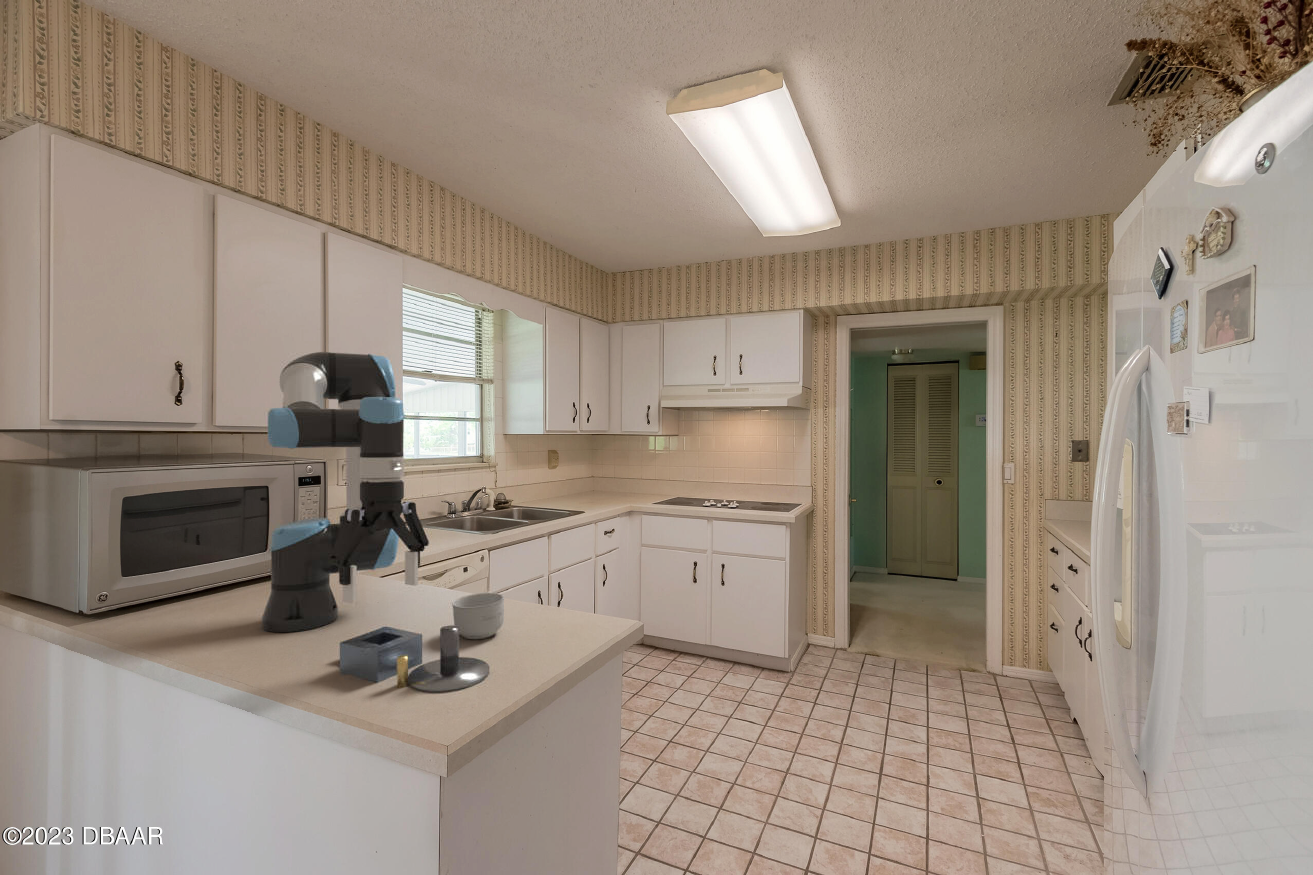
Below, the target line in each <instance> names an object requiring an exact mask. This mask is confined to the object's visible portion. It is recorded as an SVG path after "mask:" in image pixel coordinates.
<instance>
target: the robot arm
mask: <svg viewBox="0 0 1313 875" xmlns="http://www.w3.org/2000/svg"><path fill="white" fill-rule="evenodd" d="M279 387H280V390H281V392H282V394H283V395H282V396H283V398H282V407H274V408H270V410H269V411H268V413H267V440H268V444H269V445H270V446H271V447H272V448H285V449H291V450H292V449H302V448H303V449H304V448H305V449H306V448H308V449H311V448H313V449H314V448H315V449H316V448H345V478H346V479H345V481H346V482H345V483H346V484H345V486H346V488H345V489H346V490H345V492H346V508H345V510H343V512H342V513H340V515H339V523H331V521H330V519H329V518H328V517H317V518H308V519H301V520H298V521H293V522H288V523H286V524H282V525H279V526H277V527H276V528H275V529H273V531H272V533H271V540H270V541H271V542H270V543H271V544H270V547H269V550H270V552H271V555H270V556H271V560H270V561H271V563H270V566H271V567H270V568H271V569H270V571H271V572H270V578H271V579H270V580H271V581H270V583H271V584H270V594H269V597H268V599H267V603H266V605H265V608H264V612H263V614H262V617H261V628H262V630H264V631H267V632H273V633H292V632H300V631H305V630H306V631H307V630H310V629H311V630H312V629H315V628H320V627H322V626H326V625H329V624H331V623H333V622H335V621H336V620H337V619H338V618H339V607H338V604H337V601H336V599H335V596H334V593H333V591H332V588H331V585H330V579H331V578H330V575H331V574H338V582H339V585H342V602H343V603H348V604H356V603H358V601H357V600H358V598H357V597H358V596H357V595H358V592H357V590H358V589H357V588H358V586H357V585H358V584H357V579H358V576H357V575H358V574H357V573H358V572H359V571H360V572H362V571H370V570H371V571H375V570H377V569H385V568H389V567H390V566H391V567H392V565H393V564H394V562H395V560H396V557H397V553H398V547H399V542H400V541H399V540H401V542H402V543H404V545H405V546H406V548H407V549H408V550H406V551H404V584H405V585H407V586H415V587H416V586H418V585H419V567H420V565H421V552H424V551H425V550H426V549H425V547H427V546H429V544H430V541H429V539H428V537H427V535H426V531H425V530H424V527H423V525H422V523H421V520H420V518H419V516H418V514H417V506H416V505H417V504H416V503H415V502H414V501H403V500H404V498H405V488H404V487H405V482H404V481H403V480H402V479H401V478H403V477H405V475H404V474H405V472H404V471H405V470H404V463H405V460H404V459H405V458H404V457H405V456H404V433H405V432H404V431H405V430H404V424H405V423H404V422H405V421H404V420H405V413H404V411H405V410H404V403H403V400H402V399H401V398H397V397H396V381H395V375H394V371H393V366H392V363H391V361H390V360H389V359H388V358H387V357H385V356H383V355H374V354H371V353H368V354H364V353H363V354H360V353H346V352H344V353H343V352H327V351H318V352H317V351H316V352H312V353H308V354H305V355H301V356H300V357H298V358H294V359H293V360H292V361H290V362H289V363H288V364H286V366H285V367H284V368H283V369H282V370H281V372H280V376H279ZM328 399H329V400H337V406H338V408H325V402H324V400H328ZM402 501H403V502H402ZM402 515H403V518H404V519H403V518H402V517H401V516H402Z"/></svg>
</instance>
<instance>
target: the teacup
mask: <svg viewBox="0 0 1313 875" xmlns="http://www.w3.org/2000/svg"><path fill="white" fill-rule="evenodd" d="M504 599H505V597H504V595H503V594H501V593H498V592H492V591H490V590H489V591H487V590H486V591H484V592H482V593H481V592H480V593H472V594H467V595H464V596H461V597H459V598H457V599H454V600H453V601H452V603H451V605H452V610H453V612H452V614H453V615H452V616H453V624H454V626H458V627H459V635H461V636H463V638H465V639H468V640H481V639H482V640H483V639H486V638H489V637H492V636H494V635H495V634H497V632H498V631H499V630H500V629H501V627H502V626H503V624H504V620H505V609H504V608H505V606H504Z"/></svg>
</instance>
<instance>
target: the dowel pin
mask: <svg viewBox="0 0 1313 875" xmlns="http://www.w3.org/2000/svg"><path fill="white" fill-rule="evenodd" d="M408 676H409V669H408V655H400V656H398V657H397V674H396V688H397V687H398V688H406V687H408V686H409V683H408Z"/></svg>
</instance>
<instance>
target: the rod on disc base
mask: <svg viewBox="0 0 1313 875" xmlns="http://www.w3.org/2000/svg"><path fill="white" fill-rule="evenodd" d="M439 630H440V631H439V632H440V633H439V635H440V636H439V639H440V640H439V648H440V649H439V651H440V654H439V657H440V658H439V659H436V660H433V661H429V662H426V663H422V665H419V666H417V667H415V668H414V669H413V670H411V671H410V672H409V673H408V686H410V687H411V688H412V689H414V690H417V691H420V692H425V693H447V692H454V691H458V690H464V689H467V688H470V687H472V686H475V685H478V684H479V683H481V682H483V681H484V680H485V679H486V678H487V677H488V676H489V675H490V666H489V664H488V663H487V662H486V661H485V660H482V659H480V658H479V659H478V658H475V657H469V656H468V657H464V656H462V657H461V656H460V653H459V652H460V651H459V650H460V634H459V627H458V626H455V625H446V626H442V627H441V628H440V629H439Z"/></svg>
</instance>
